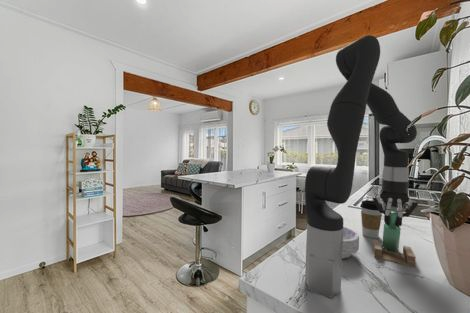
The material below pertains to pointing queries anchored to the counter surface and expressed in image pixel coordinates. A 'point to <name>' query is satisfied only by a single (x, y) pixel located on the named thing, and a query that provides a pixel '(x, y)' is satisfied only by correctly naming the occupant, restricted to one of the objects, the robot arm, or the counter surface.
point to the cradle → (394, 254)
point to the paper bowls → (349, 242)
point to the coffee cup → (370, 219)
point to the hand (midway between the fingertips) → (392, 225)
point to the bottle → (391, 233)
